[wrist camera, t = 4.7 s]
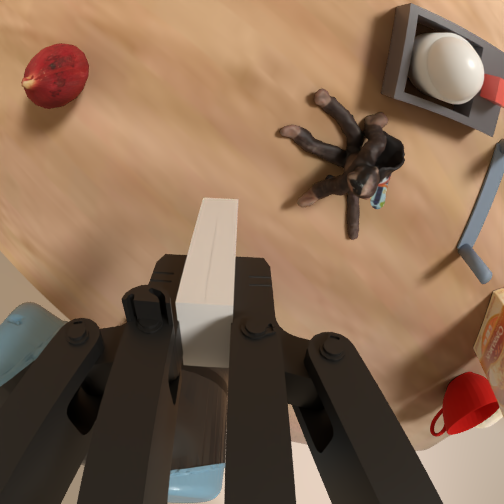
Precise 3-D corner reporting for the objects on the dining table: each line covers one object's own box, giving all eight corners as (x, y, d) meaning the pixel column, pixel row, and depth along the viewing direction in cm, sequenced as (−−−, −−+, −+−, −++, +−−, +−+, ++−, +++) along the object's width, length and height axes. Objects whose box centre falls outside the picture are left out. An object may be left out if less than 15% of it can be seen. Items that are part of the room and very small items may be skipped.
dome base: (380, 93, 24) (406, 103, 20) (396, 6, 19) (424, 0, 15) (476, 128, 25) (507, 145, 21) (492, 54, 20) (526, 60, 16)
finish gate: (453, 252, 34) (476, 283, 29) (498, 135, 25) (532, 154, 20) (467, 255, 34) (489, 284, 29) (511, 142, 25) (544, 161, 20)
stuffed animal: (351, 64, 22) (444, 178, 21) (359, 102, 31) (425, 188, 30) (245, 145, 27) (327, 261, 25) (279, 162, 36) (340, 249, 34)
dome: (398, 85, 23) (432, 95, 18) (410, 23, 20) (446, 19, 15) (452, 105, 24) (490, 121, 19) (464, 48, 20) (504, 53, 15)
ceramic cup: (409, 402, 56) (420, 442, 47) (473, 356, 48) (492, 397, 39) (435, 409, 60) (446, 444, 52) (491, 369, 52) (507, 404, 44)
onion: (90, 31, 21) (41, 31, 14) (111, 81, 24) (67, 94, 17) (45, 63, 22) (-7, 74, 15) (65, 110, 25) (16, 132, 18)
